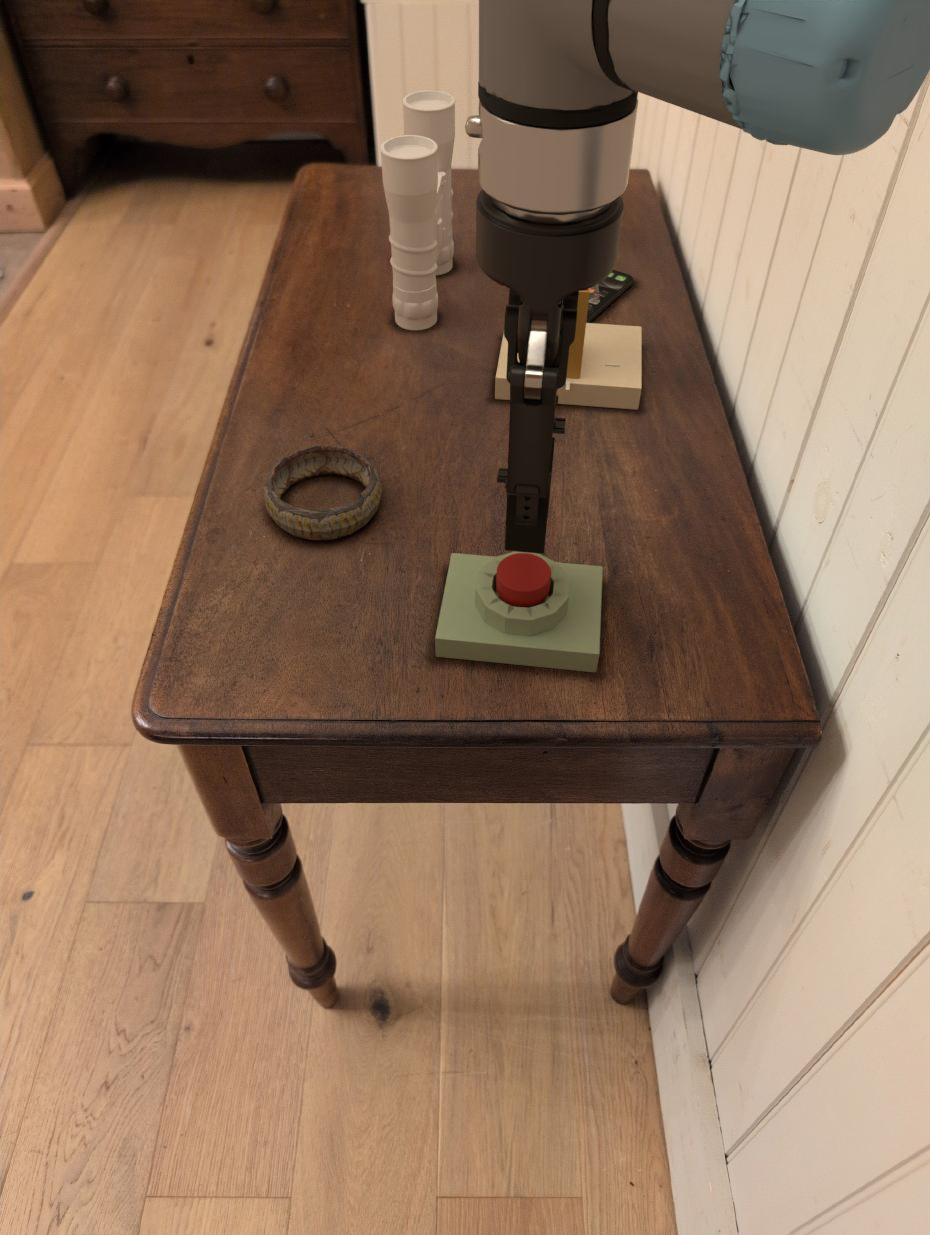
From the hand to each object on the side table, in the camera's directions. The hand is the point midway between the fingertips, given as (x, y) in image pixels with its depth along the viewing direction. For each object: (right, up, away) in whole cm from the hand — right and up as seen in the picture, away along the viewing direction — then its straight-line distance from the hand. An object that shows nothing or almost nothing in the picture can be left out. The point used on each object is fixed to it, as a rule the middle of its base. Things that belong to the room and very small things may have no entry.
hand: (526, 529), depth 64 cm
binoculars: (-9, +31, +40) cm, 51 cm away
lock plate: (+6, +19, +29) cm, 35 cm away
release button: (0, -4, +4) cm, 6 cm away
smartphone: (+8, +29, +39) cm, 49 cm away
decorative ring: (-16, +3, +16) cm, 23 cm away
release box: (0, -6, +7) cm, 10 cm away
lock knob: (+6, +19, +26) cm, 33 cm away
